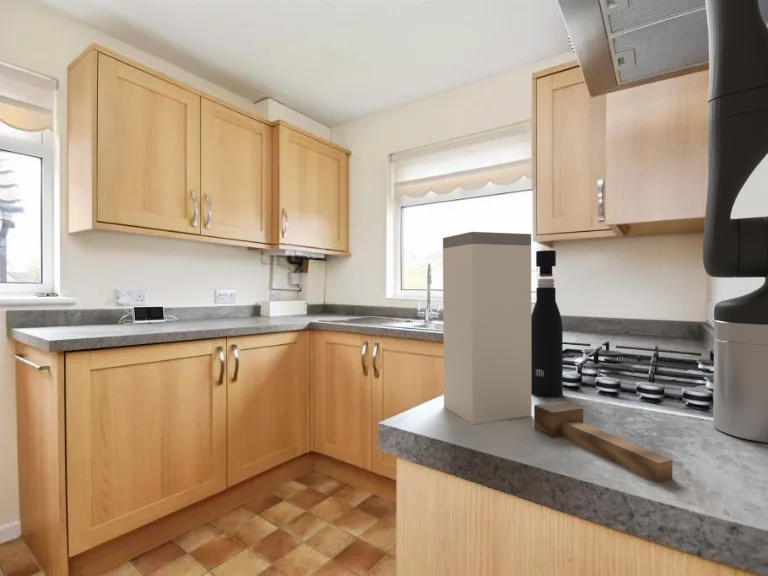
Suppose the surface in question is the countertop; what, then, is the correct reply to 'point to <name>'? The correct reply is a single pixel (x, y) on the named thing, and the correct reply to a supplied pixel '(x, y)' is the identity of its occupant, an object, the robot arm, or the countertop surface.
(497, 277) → the stand
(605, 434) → the mallet
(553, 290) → the black bottle
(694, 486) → the countertop surface
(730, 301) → the robot arm
